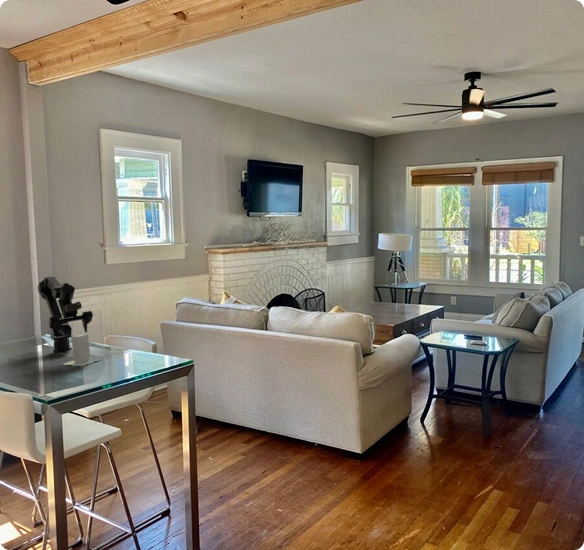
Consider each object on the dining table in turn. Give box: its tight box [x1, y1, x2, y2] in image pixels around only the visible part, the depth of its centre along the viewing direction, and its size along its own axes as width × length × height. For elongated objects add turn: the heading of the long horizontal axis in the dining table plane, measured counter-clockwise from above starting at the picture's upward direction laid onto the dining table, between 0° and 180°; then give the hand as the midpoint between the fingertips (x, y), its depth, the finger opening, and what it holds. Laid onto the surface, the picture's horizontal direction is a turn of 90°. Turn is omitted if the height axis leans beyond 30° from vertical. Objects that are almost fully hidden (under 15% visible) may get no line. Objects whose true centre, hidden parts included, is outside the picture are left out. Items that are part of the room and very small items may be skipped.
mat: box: [62, 360, 88, 367], centre depth 246 cm, size 12×12×1 cm
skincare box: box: [70, 333, 92, 363], centre depth 245 cm, size 6×4×12 cm
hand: (76, 334), depth 249 cm, fingers open, 9 cm apart
